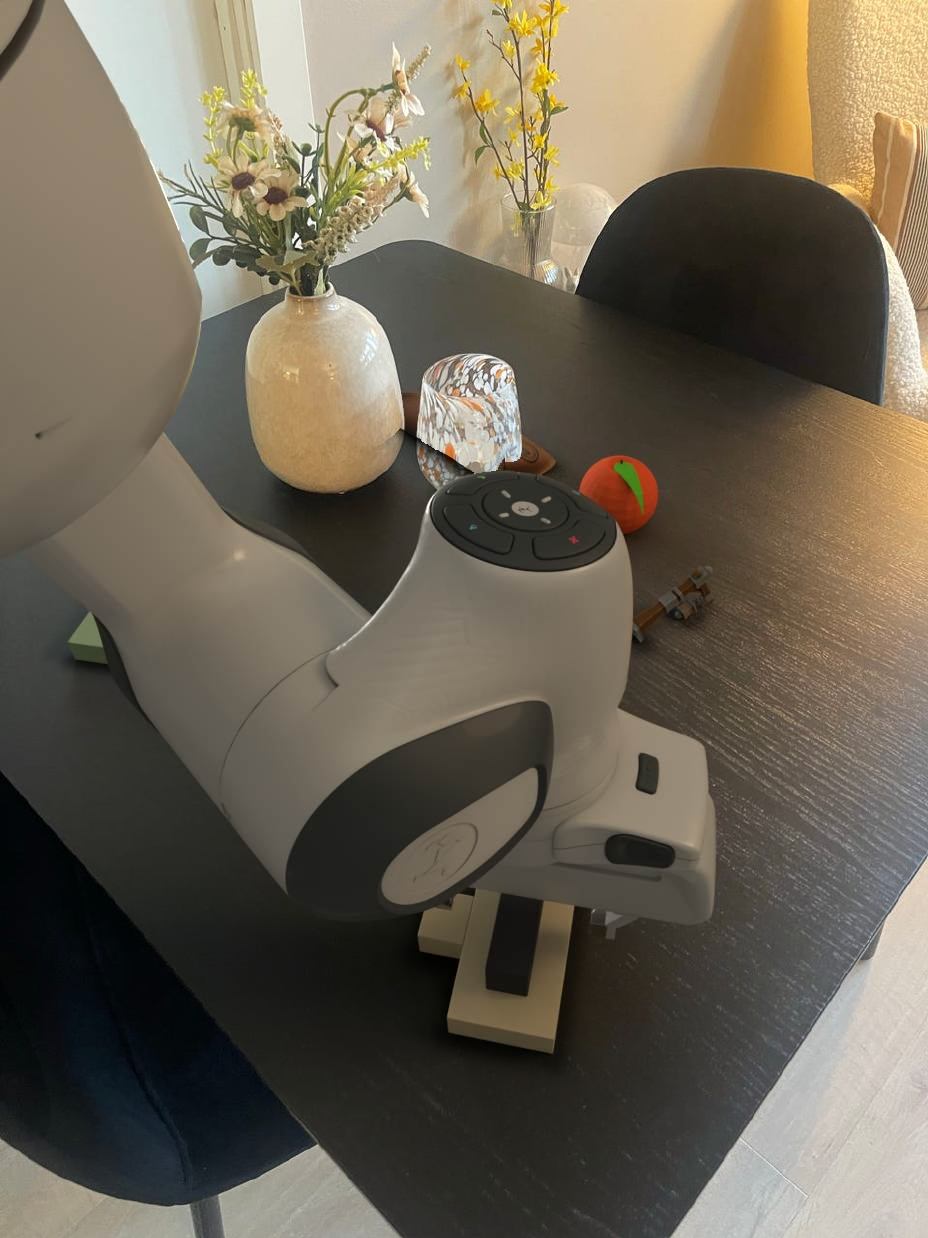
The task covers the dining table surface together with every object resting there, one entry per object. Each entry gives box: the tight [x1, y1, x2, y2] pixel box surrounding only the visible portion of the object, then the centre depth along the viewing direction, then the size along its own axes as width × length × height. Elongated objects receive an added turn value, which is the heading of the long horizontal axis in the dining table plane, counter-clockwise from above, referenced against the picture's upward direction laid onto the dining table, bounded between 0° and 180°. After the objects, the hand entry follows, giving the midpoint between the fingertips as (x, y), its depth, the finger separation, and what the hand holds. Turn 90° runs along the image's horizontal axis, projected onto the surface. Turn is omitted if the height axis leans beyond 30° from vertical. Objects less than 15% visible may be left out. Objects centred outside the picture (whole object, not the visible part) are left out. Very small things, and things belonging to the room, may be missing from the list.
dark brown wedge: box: [400, 391, 557, 476], centre depth 95 cm, size 18×7×7 cm
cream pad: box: [417, 888, 575, 1054], centre depth 56 cm, size 12×9×4 cm
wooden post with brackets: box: [632, 565, 715, 643], centre depth 76 cm, size 2×8×4 cm, turn 117°
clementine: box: [578, 455, 659, 535], centre depth 84 cm, size 8×7×7 cm
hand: (521, 912), depth 55 cm, fingers open, 8 cm apart
